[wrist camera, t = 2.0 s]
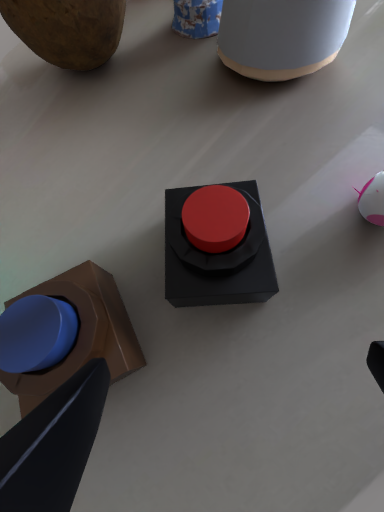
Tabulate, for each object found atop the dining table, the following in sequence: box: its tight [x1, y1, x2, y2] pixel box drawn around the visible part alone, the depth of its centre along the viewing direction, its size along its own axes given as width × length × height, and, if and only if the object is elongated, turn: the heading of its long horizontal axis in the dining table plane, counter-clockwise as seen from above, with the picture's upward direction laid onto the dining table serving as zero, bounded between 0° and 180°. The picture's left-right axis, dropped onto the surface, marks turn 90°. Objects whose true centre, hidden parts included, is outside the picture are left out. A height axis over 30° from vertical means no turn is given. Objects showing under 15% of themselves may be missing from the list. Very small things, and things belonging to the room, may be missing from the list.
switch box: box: [165, 180, 279, 308], centre depth 20 cm, size 11×9×6 cm
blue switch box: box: [0, 260, 147, 419], centre depth 18 cm, size 10×8×6 cm
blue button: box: [0, 295, 79, 373], centre depth 15 cm, size 5×5×2 cm
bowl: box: [0, 0, 126, 71], centre depth 34 cm, size 19×19×15 cm
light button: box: [182, 185, 249, 253], centre depth 17 cm, size 5×5×2 cm
